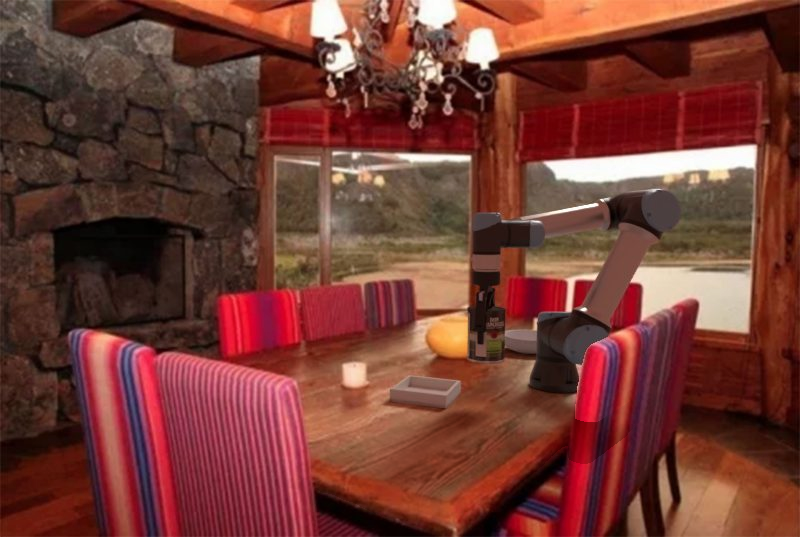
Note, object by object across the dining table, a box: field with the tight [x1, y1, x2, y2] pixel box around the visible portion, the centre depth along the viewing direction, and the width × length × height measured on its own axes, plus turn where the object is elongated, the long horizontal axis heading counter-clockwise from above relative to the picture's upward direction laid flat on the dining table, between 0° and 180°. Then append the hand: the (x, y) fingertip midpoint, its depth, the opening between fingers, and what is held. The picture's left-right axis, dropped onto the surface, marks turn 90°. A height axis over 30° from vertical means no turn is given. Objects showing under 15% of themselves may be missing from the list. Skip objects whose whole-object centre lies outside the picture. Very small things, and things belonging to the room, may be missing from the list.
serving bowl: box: [505, 329, 537, 355], centre depth 227 cm, size 21×21×7 cm
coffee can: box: [466, 305, 507, 365], centre depth 158 cm, size 10×10×14 cm
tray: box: [389, 374, 462, 409], centre depth 164 cm, size 16×16×4 cm
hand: (485, 351), depth 158 cm, fingers closed on coffee can, 10 cm apart
